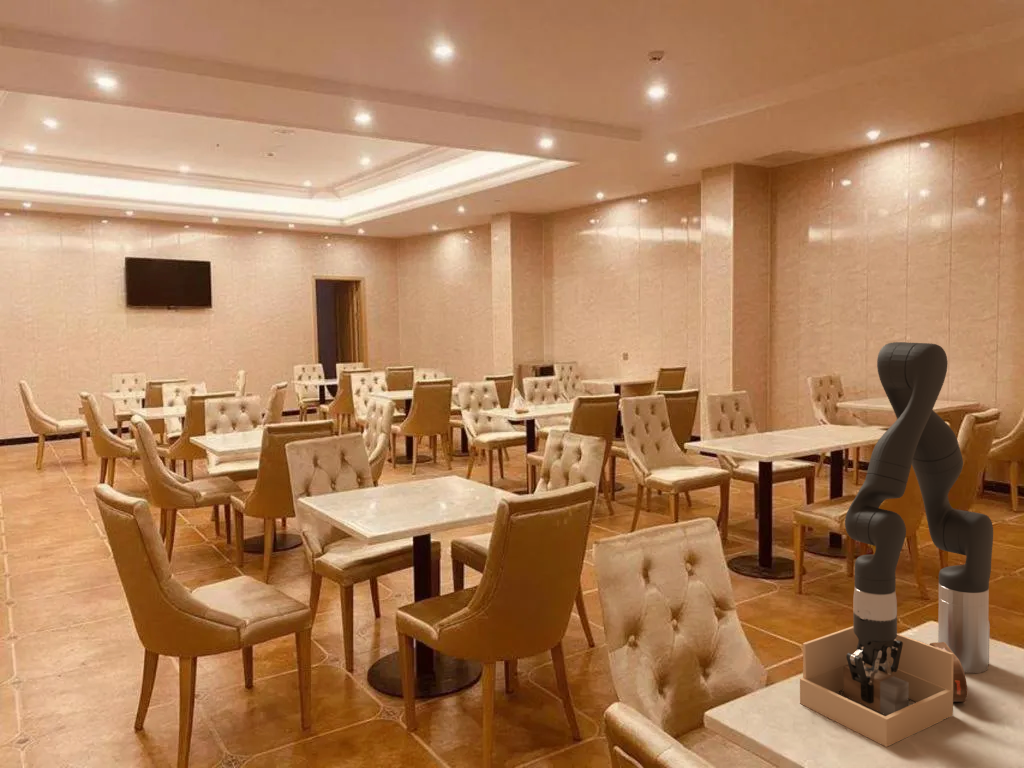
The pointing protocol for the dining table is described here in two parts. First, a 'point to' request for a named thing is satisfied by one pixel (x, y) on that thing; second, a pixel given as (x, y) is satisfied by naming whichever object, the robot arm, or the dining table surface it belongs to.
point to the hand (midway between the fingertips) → (875, 697)
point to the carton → (916, 665)
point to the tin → (955, 675)
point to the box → (879, 691)
